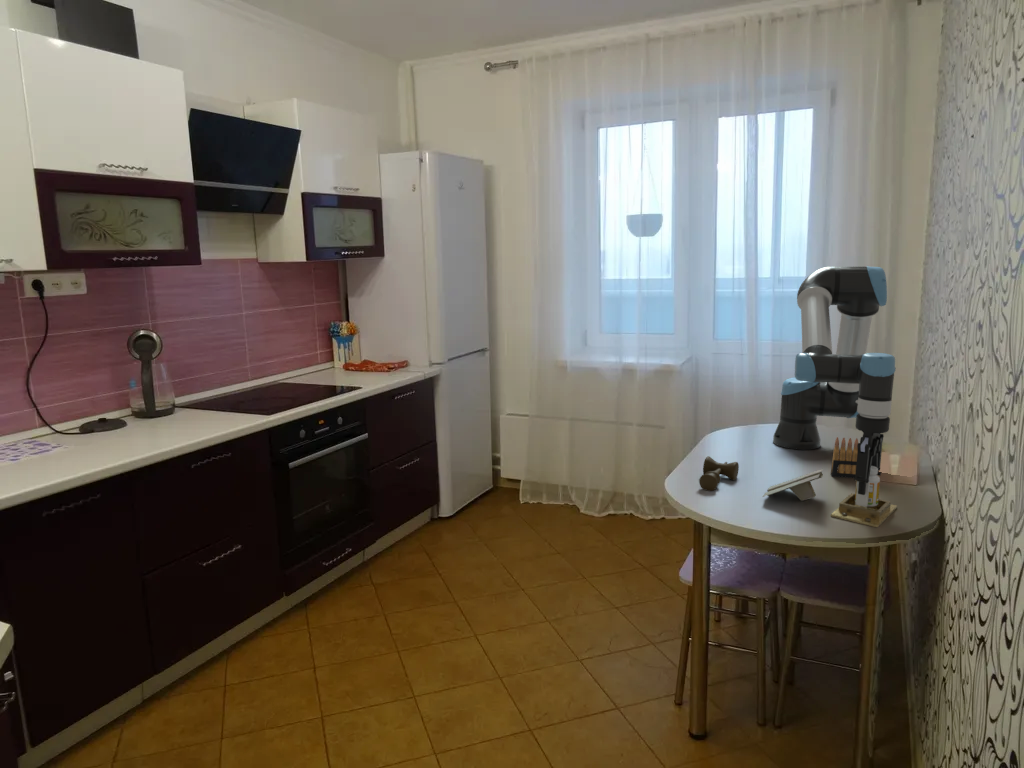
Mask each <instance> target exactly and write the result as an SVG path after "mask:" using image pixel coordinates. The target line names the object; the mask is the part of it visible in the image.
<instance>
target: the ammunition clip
mask: <svg viewBox="0 0 1024 768" xmlns="http://www.w3.org/2000/svg"><path fill="white" fill-rule="evenodd" d="M840 443H841V444H840ZM858 443H859V439H858V438H857V437H856V439H855V440H854V444H853V441H852V438H851V437H849V438H848V441H847V446H846V438H845V437H842V439H841V442H840V440H839V436H838V437H836V438H835V442H834V448H833V451H832V453H833V454H832V462H831V468H830V476H831V477H835V478H847V479H854V478H855V473H856V463H857V453H858V448H857V445H858Z"/></svg>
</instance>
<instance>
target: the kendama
mask: <svg viewBox="0 0 1024 768" xmlns="http://www.w3.org/2000/svg"><path fill="white" fill-rule="evenodd" d="M739 467H740V466H739V462H738V461H734V462H730V463H728V462H727V461H725V462H724V463H722V462H718V461H715V460H714V458H712V457H711V456H710V455H709V456H706V457H705V458H704V462H703V465H702V472H703V474H701V476H699V480H698V483H699V487H700V489H702V490H704V491H708V492H713V491H715V490H716V489H717V487H718V485H719V483H720V482H721V476H720V475H722V476H725V477H727V478H728V479H730V480H731V481H736V480H737V478H738V475H739Z"/></svg>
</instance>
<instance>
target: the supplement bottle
mask: <svg viewBox="0 0 1024 768" xmlns="http://www.w3.org/2000/svg"><path fill="white" fill-rule="evenodd" d="M878 472H879V471H878V468H877V467H875V466H871V469H870V475H869V482H870V486H869V497H868V507H874V506H877V505H878V499H880V497H879V496H880V487H881V486H880V485H881V484H880V483H881V478H880V476H879V475H876V474H878ZM854 492H855V493H854V494H855V502H856V492H857V481H856V482H855V491H854Z"/></svg>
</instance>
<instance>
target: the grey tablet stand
mask: <svg viewBox="0 0 1024 768" xmlns="http://www.w3.org/2000/svg"><path fill="white" fill-rule="evenodd" d="M822 471H824V469H823V468H822V469H818V470H815V471H812V472H809V473H805V474H804V475H800V476H798V477H795V478H792V479H790V480H786V481H782V482H780V483H777V484H775V485H772V486H771V485H770V487H767V490H766V491H767V492H766V491H765V492H764V494H763V495H762V498H763V497H765V496H767V497H768V496H771V495H775V494H777V493H780V492H783V491H786V490H790V491H791V492H792V493H793V494H795V496H796V497H797V498H798V499H799V501H802V502H803V501H806V500H808V499H812V498H816V492H815V490H814V488H813V485H812V483H811V482H813V481H816V480H818V479H822V478H823V477H824V475H823V474H824V473H823V472H822Z"/></svg>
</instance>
